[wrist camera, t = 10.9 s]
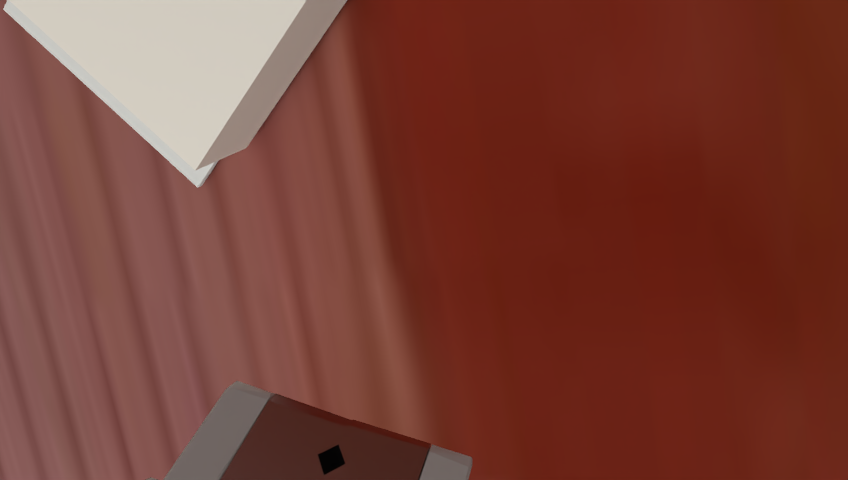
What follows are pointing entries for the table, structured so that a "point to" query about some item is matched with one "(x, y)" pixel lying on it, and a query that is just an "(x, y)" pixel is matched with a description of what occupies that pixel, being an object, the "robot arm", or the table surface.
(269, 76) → the card box
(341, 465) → the robot arm
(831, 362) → the table surface
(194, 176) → the felt mat
